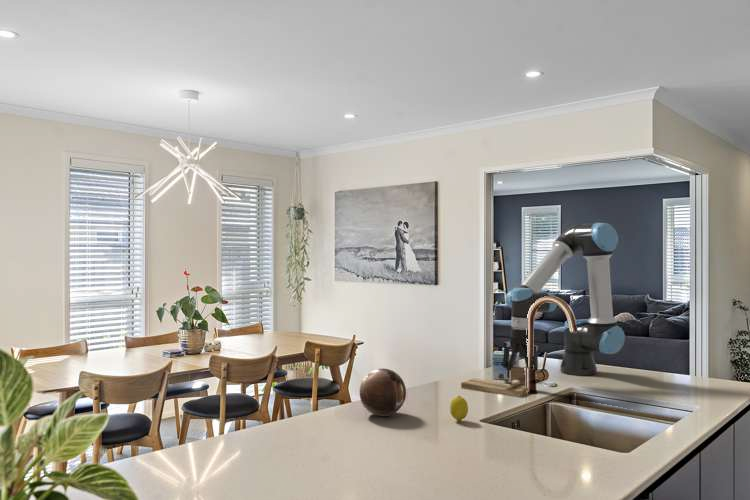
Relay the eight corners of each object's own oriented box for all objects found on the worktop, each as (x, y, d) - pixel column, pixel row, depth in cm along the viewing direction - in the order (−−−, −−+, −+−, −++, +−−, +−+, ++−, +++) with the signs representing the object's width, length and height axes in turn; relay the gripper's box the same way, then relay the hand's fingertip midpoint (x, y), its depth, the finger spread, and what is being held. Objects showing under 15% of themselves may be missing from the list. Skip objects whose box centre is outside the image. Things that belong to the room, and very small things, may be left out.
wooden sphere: (352, 412, 194) (351, 367, 194) (391, 407, 201) (391, 363, 201) (372, 424, 180) (372, 375, 180) (414, 418, 187) (414, 370, 187)
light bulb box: (492, 379, 244) (492, 353, 244) (493, 375, 251) (493, 350, 251) (518, 380, 241) (518, 354, 241) (519, 377, 248) (519, 351, 248)
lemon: (467, 424, 180) (467, 398, 180) (449, 423, 181) (449, 397, 181) (468, 419, 186) (468, 393, 186) (450, 418, 187) (450, 393, 187)
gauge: (514, 386, 230) (515, 366, 230) (529, 389, 226) (530, 368, 226) (498, 393, 219) (499, 371, 219) (513, 396, 215) (514, 374, 215)
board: (473, 383, 236) (473, 378, 236) (530, 391, 222) (530, 386, 222) (461, 387, 228) (461, 382, 228) (519, 397, 214) (519, 391, 214)
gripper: (494, 326, 229) (492, 385, 229) (540, 331, 217) (539, 394, 217) (502, 324, 235) (501, 382, 235) (548, 329, 223) (547, 390, 223)
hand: (519, 388), depth 226 cm, fingers closed on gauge, 6 cm apart
